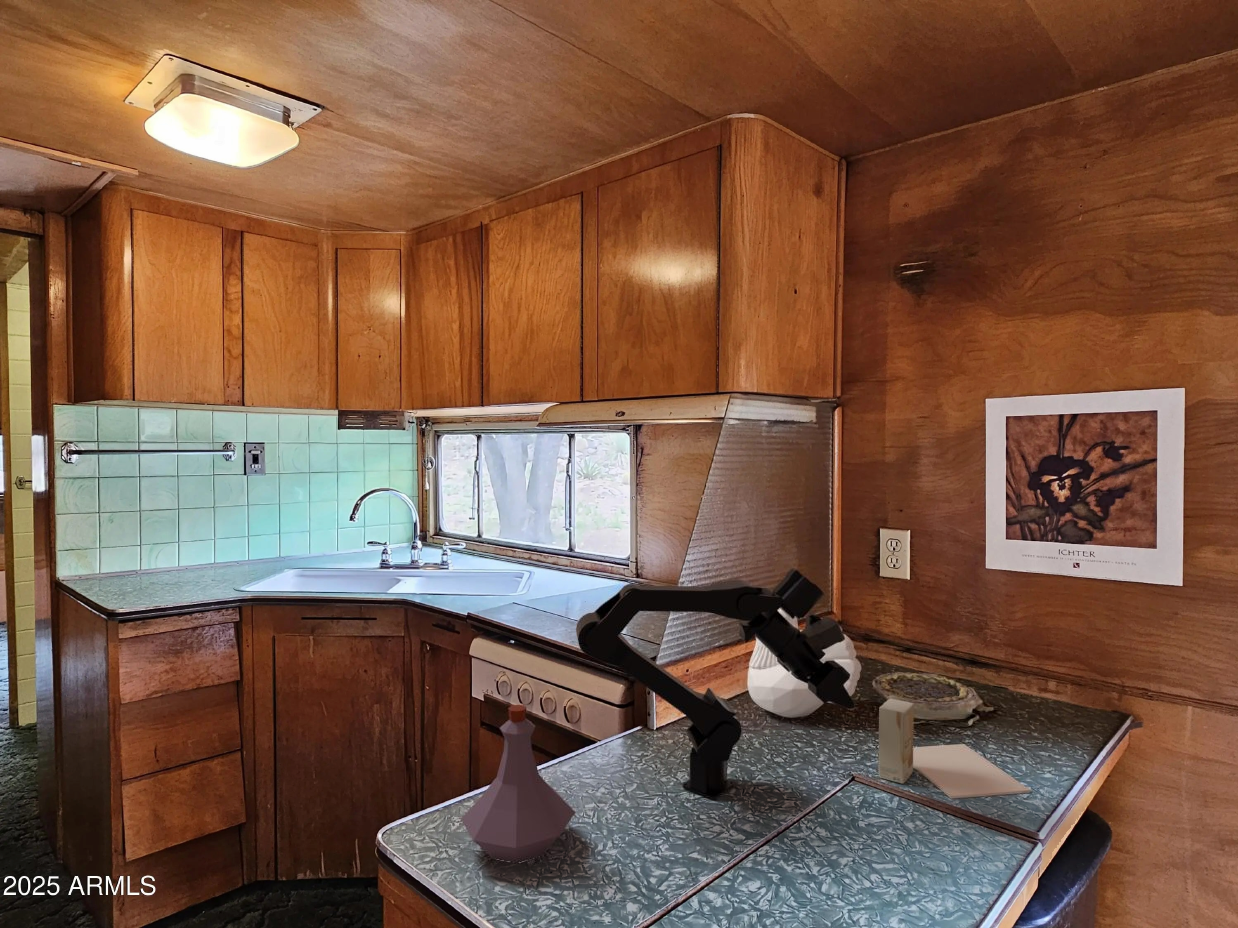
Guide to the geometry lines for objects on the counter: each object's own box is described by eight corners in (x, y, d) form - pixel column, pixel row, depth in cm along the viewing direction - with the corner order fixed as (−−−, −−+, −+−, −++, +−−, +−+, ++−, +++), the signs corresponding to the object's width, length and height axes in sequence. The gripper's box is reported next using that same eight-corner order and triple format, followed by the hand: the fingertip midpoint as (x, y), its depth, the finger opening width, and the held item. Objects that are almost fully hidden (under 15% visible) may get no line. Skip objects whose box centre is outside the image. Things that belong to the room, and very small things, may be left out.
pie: (857, 721, 149) (858, 697, 149) (854, 680, 175) (854, 660, 175) (1008, 736, 141) (1008, 711, 141) (981, 691, 167) (981, 670, 167)
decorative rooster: (731, 704, 157) (731, 592, 156) (785, 691, 165) (785, 584, 165) (817, 746, 136) (817, 616, 135) (873, 728, 144) (874, 605, 143)
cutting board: (951, 798, 116) (951, 795, 116) (894, 750, 134) (894, 748, 134) (1030, 792, 118) (1030, 789, 118) (963, 745, 136) (963, 743, 136)
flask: (521, 803, 115) (520, 680, 114) (599, 839, 105) (598, 704, 104) (436, 849, 102) (434, 711, 102) (515, 895, 92) (513, 741, 91)
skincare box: (903, 785, 120) (904, 713, 120) (877, 777, 123) (877, 707, 123) (914, 771, 126) (914, 702, 125) (888, 764, 128) (889, 696, 128)
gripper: (838, 617, 112) (904, 682, 114) (793, 591, 131) (850, 649, 132) (789, 669, 111) (856, 735, 113) (751, 636, 130) (810, 693, 132)
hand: (843, 699), depth 123 cm, fingers open, 6 cm apart
